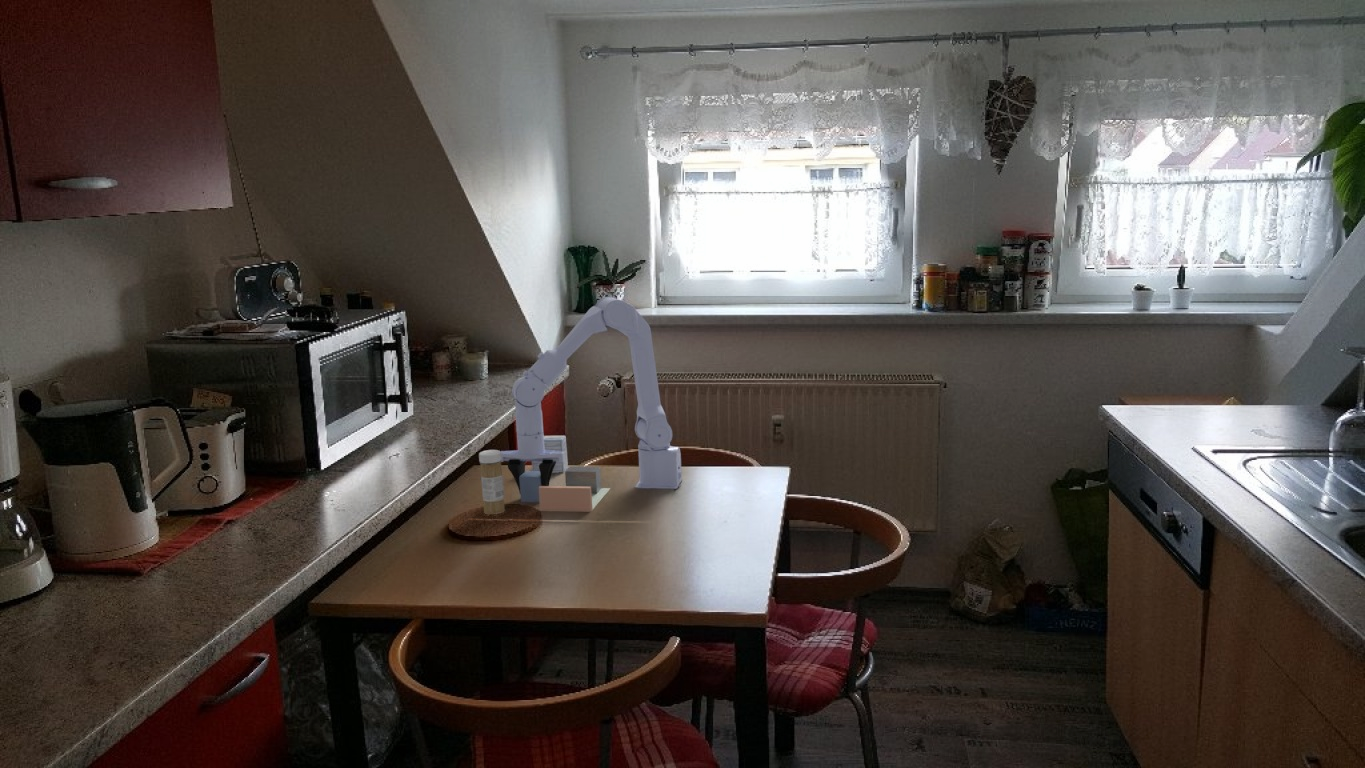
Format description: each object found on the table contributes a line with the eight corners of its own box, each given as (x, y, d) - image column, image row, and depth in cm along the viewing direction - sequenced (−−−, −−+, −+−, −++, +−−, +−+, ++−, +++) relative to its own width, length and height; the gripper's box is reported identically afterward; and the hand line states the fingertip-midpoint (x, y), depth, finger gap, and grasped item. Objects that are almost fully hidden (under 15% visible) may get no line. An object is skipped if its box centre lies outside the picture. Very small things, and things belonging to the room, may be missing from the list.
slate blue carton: (547, 497, 215) (546, 470, 214) (541, 503, 211) (539, 476, 210) (528, 496, 216) (526, 470, 215) (521, 503, 211) (519, 476, 210)
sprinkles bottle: (498, 509, 208) (494, 448, 205) (509, 513, 204) (505, 451, 202) (479, 514, 205) (474, 452, 203) (490, 518, 202) (485, 455, 199)
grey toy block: (601, 488, 219) (600, 466, 218) (597, 493, 215) (595, 471, 214) (571, 488, 220) (570, 466, 219) (566, 493, 216) (565, 471, 216)
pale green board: (610, 489, 219) (609, 466, 218) (591, 513, 203) (589, 488, 202) (563, 489, 221) (561, 466, 220) (540, 512, 205) (538, 487, 204)
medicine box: (568, 469, 238) (566, 435, 237) (564, 474, 234) (562, 439, 232) (536, 470, 239) (534, 435, 237) (532, 474, 235) (529, 439, 233)
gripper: (567, 428, 213) (571, 488, 216) (504, 428, 216) (508, 487, 218) (558, 435, 207) (562, 497, 209) (493, 435, 209) (497, 496, 211)
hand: (534, 493), depth 213 cm, fingers closed on slate blue carton, 4 cm apart
